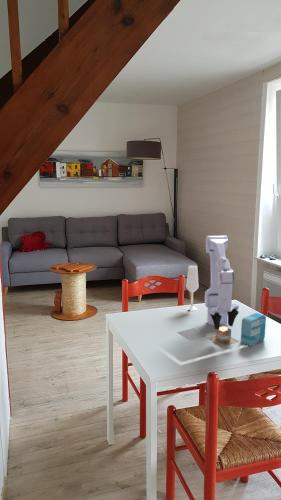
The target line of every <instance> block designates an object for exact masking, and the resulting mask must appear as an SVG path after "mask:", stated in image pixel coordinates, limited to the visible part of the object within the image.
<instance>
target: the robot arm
mask: <svg viewBox="0 0 281 500" xmlns="http://www.w3.org/2000/svg"><path fill="white" fill-rule="evenodd" d="M228 247H229V237H228V236H227V235H207V236H206V237H205V252H206V253H207V254H209V258H210V261H209V262H210V287H209V288H208V289H207V290H206V291H204V306H205V307H206V308H207V314H206V316H207V317H206V323H207V324H208V325H210V326H213V327H214V329H215V330H216V329H217V330H219V328H220V327H221V326H225V327H226V326H230V328H231V327H233V326H234V322H235V319H236V317H238V314H239V313H240V312H239V307H240V306H239V304H236V303H235V304H232V300H233V299H232V298H233V284H234V283H235V272H234V270H233V268H231V264H230V260H229V258H227V257H226V250H227V249H228Z"/></svg>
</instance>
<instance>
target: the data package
mask: <svg viewBox="0 0 281 500" xmlns="http://www.w3.org/2000/svg"><path fill="white" fill-rule="evenodd" d="M266 322H267V316H266V315H265V314H261V313H257V312H254V313H252V314H249V315H247V316H245V317H243V318H242V319H241V325H240V326H241V328H240V329H241V330H240V331H241V332H240V342H241V343H244V345H245V346H248V347H253V346H254V345H256V344H259V343H261V342H263V341H265V337H266V336H265V335H266V324H267V323H266Z"/></svg>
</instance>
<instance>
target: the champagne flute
mask: <svg viewBox="0 0 281 500" xmlns="http://www.w3.org/2000/svg"><path fill="white" fill-rule="evenodd" d="M185 286H186V287H185V288H186V289H187V290H188V291H189V293H190V306H187V308H188V309H190V310H197V309H198V308H197V307H196V306H194V293H195V292H196V291H197V290H198V289H199V288H200V286H199V271H198V265H188V269H187V276H186V285H185ZM197 311H198V310H197Z"/></svg>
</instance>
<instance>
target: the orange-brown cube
mask: <svg viewBox="0 0 281 500" xmlns="http://www.w3.org/2000/svg"><path fill="white" fill-rule="evenodd" d="M215 336H216V339H217V340H219V341H221V342H226V341H230V340H231V337H232V329H231V328H229V327H226V326H225V325H222V326H220V328H219V330H217V329H215Z"/></svg>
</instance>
